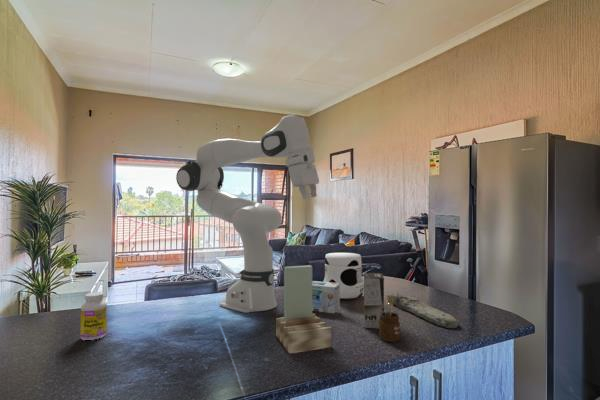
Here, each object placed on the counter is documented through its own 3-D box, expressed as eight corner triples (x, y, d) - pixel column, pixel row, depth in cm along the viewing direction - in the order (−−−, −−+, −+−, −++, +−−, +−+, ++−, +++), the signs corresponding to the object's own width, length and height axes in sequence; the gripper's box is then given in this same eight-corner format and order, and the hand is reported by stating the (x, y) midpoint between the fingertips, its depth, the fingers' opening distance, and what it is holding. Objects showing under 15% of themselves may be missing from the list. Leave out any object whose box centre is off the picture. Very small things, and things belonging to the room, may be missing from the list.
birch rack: (289, 359, 86) (289, 333, 86) (275, 340, 98) (275, 317, 98) (332, 352, 90) (332, 328, 90) (313, 334, 102) (313, 313, 102)
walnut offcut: (288, 344, 91) (288, 322, 92) (286, 341, 93) (286, 319, 93) (319, 339, 94) (318, 318, 95) (316, 337, 96) (316, 316, 96)
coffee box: (384, 329, 106) (384, 278, 106) (363, 328, 108) (363, 277, 108) (383, 319, 115) (383, 272, 115) (364, 318, 117) (364, 271, 117)
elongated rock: (441, 335, 105) (465, 333, 109) (442, 319, 105) (467, 317, 109) (379, 299, 138) (399, 298, 142) (380, 286, 138) (400, 286, 142)
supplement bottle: (79, 343, 96) (79, 298, 96) (81, 335, 101) (82, 292, 102) (106, 339, 99) (106, 295, 99) (107, 331, 105) (107, 290, 105)
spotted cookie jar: (319, 292, 151) (319, 252, 151) (357, 291, 153) (357, 251, 153) (327, 303, 133) (327, 258, 134) (369, 302, 135) (369, 257, 136)
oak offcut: (296, 349, 88) (296, 330, 88) (294, 346, 90) (294, 327, 90) (321, 345, 91) (321, 327, 91) (318, 342, 92) (318, 324, 92)
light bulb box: (306, 314, 121) (306, 284, 121) (312, 308, 127) (312, 280, 127) (335, 318, 117) (335, 287, 117) (340, 312, 123) (340, 282, 123)
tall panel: (286, 338, 95) (286, 268, 95) (284, 336, 97) (284, 266, 97) (312, 335, 98) (312, 266, 98) (309, 332, 100) (309, 265, 100)
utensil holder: (378, 340, 97) (378, 299, 98) (380, 333, 103) (380, 294, 104) (399, 343, 95) (399, 301, 96) (400, 335, 101) (400, 295, 101)
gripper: (302, 162, 129) (310, 197, 130) (283, 161, 110) (292, 202, 110) (318, 158, 127) (326, 194, 127) (300, 156, 108) (310, 198, 108)
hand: (310, 198), depth 119 cm, fingers open, 8 cm apart
